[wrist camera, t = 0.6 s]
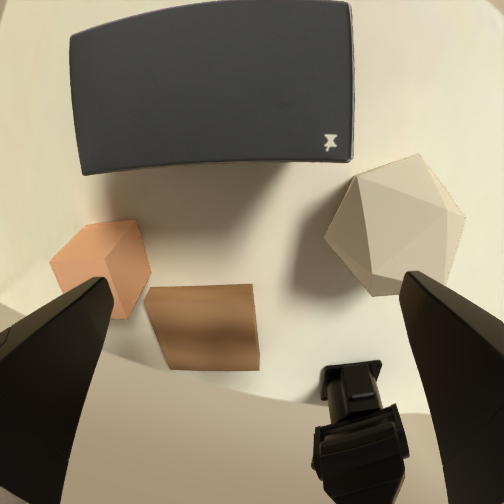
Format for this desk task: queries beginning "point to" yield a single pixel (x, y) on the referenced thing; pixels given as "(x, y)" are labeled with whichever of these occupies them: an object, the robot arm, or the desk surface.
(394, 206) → the die
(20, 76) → the desk surface
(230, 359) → the walnut slab
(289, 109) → the small box
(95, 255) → the terracotta cube
